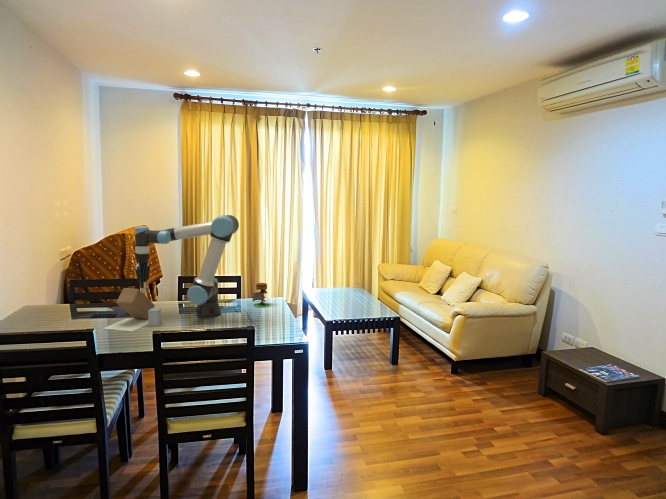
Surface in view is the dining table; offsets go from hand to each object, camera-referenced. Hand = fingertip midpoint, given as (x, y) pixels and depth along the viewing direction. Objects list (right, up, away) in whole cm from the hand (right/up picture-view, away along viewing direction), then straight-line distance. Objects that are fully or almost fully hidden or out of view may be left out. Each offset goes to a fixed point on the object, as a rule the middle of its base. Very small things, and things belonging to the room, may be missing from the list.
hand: (143, 292), depth 246 cm
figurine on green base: (+63, -13, +39) cm, 75 cm away
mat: (-3, -17, -11) cm, 21 cm away
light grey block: (+11, -17, -10) cm, 22 cm away
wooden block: (0, -12, +2) cm, 12 cm away
